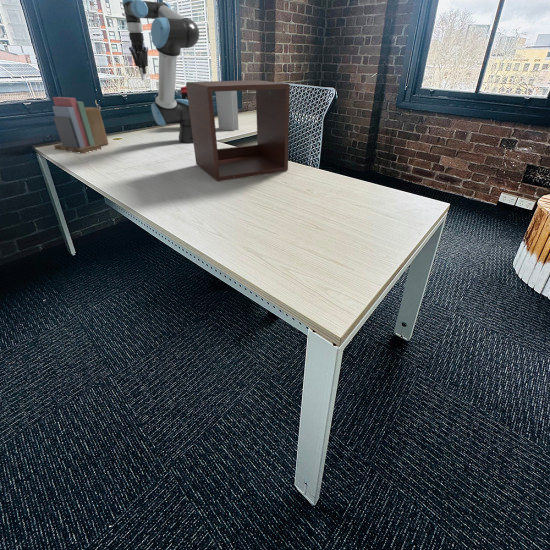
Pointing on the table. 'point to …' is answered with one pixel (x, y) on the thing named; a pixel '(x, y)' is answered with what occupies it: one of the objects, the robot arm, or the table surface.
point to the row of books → (72, 122)
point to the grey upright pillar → (227, 110)
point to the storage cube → (270, 130)
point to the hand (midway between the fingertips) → (144, 80)
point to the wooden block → (96, 126)
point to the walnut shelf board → (81, 150)
